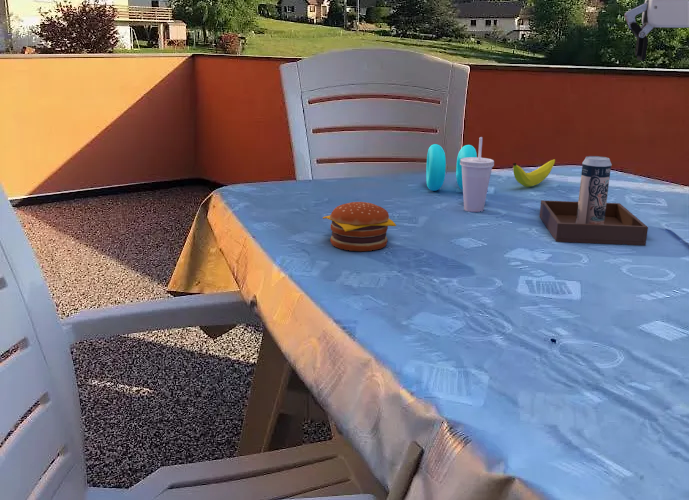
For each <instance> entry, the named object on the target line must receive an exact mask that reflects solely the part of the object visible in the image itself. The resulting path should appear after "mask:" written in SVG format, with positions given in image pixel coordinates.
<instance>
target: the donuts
mask: <svg viewBox="0 0 689 500" xmlns="http://www.w3.org/2000/svg"><path fill="white" fill-rule="evenodd" d="M468 157H478V153H477V149H476V148H475V147H474V146H473V145H472V144H465V145H463V146H462V147H461V148H460V150H459V151H458V154H457V158H456V163H455V164H456V165H455V166H456V167H455V177H456V184H457V186H458V188H459V189H460V190H461V191H463V182H462V165H460V160H461V159H462V158H468ZM425 166H426V167H425V169H426V170H425V179H426V180H425V181H426V182H425V183H426V186H427V188H428V189H429V190H430V191H432V192H436V191H439V190H440V189H441V188H442V186H443V185H444V183H445V178H446V170H447V169H446V167H447V160H446V153H445V150H444V148H443V147H442V146H441V144H437V143H434V144H431V145H430V146H429V147H428V149H427V154H426V165H425Z"/></svg>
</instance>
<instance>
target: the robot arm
mask: <svg viewBox="0 0 689 500" xmlns="http://www.w3.org/2000/svg"><path fill="white" fill-rule="evenodd" d="M640 14H642V15H641V24H642V25H641V26H640V25H639V24H638V22H637V21H636V16H637V15H640ZM623 16H624V18H625V21H626V24H627V25H628V27H627V28H628V29H629V31H631V32H632V34H633V35H634V37H635V38H636V40H635V41H636V42H635V49H634V56H635V57H636V61H643V62H644V61H646V58H647V52H648V44H649V38H648V37H647V35H649V33H650V32H651V31H652V30H653V29H654V28H661V29H664V28H670V29H677V28H678V29H686V28H689V0H644V3H641V4H640V5H637V6H636V7H634V8H631V9H629V10H627V11H625V12H624V15H623Z"/></svg>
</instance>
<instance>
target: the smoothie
mask: <svg viewBox="0 0 689 500" xmlns="http://www.w3.org/2000/svg"><path fill="white" fill-rule="evenodd" d="M478 139H479V140H478V151H477V152H478V153H477V157H468V158H462V159H461V160H460V165H462V182H463V190H462V196H463V211H466V212H470V213H471V212H472V213H480V211H481V212H483V211H484V209H485V204H486V199H487V194H488V189H489V184H490V179H491V175H492V170H493V167H495V160H494V159H492V158H487V157H482V150H483V136H480V137H479V138H478Z"/></svg>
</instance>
